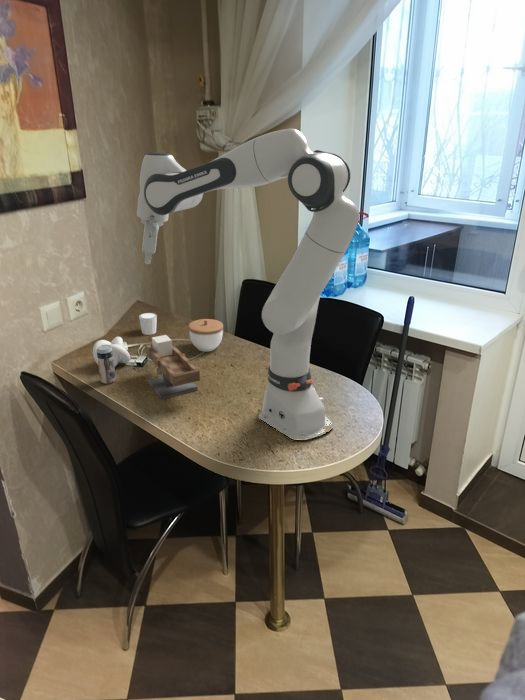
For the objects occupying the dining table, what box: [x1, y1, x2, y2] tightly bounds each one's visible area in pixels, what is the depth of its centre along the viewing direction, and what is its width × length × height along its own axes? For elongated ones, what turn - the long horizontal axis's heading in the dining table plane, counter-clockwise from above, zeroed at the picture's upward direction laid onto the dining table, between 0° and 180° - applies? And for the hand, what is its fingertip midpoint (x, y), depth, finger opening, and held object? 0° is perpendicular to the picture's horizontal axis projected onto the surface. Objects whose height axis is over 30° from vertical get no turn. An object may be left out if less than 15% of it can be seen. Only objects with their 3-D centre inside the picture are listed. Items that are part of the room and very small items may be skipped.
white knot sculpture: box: [92, 336, 131, 368], centre depth 170 cm, size 11×12×9 cm
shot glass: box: [138, 312, 158, 336], centre depth 197 cm, size 7×7×7 cm
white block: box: [151, 334, 173, 357], centre depth 160 cm, size 5×5×5 cm
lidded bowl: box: [188, 318, 224, 352], centre depth 184 cm, size 13×13×11 cm
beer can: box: [97, 345, 116, 385], centre depth 159 cm, size 5×5×12 cm
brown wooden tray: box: [144, 342, 201, 400], centre depth 157 cm, size 25×12×10 cm, turn 31°
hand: (148, 257), depth 148 cm, fingers open, 8 cm apart
